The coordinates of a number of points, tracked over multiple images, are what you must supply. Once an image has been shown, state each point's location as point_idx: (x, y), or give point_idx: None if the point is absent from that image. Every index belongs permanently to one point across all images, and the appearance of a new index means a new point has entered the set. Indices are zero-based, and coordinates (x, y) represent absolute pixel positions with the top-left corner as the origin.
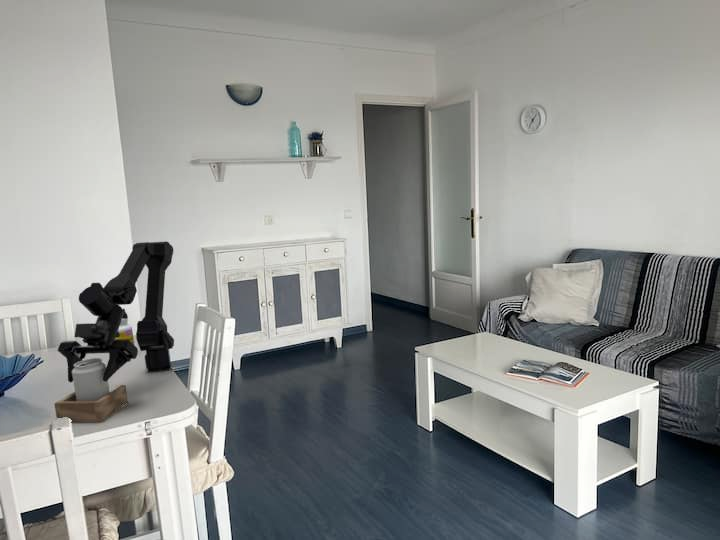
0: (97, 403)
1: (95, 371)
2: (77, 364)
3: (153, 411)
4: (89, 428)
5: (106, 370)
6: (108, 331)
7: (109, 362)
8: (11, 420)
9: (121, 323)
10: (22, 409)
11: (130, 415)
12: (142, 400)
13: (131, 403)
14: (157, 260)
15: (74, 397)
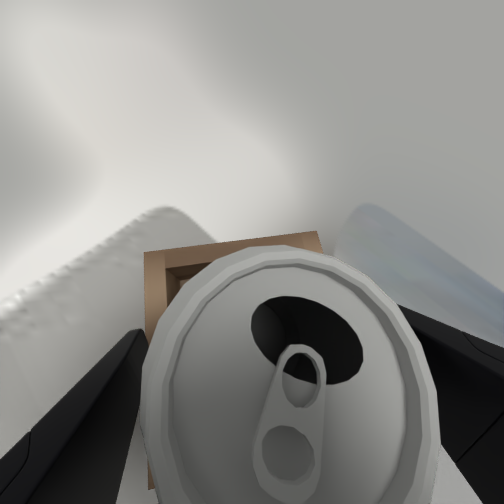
0: (150, 252)
1: (164, 315)
2: (397, 349)
3: (18, 376)
4: (174, 233)
5: (94, 381)
6: None
7: (12, 482)
8: (428, 249)
9: None
10: (482, 313)
11: (96, 329)
12: (127, 478)
13: None
14: None
15: None
